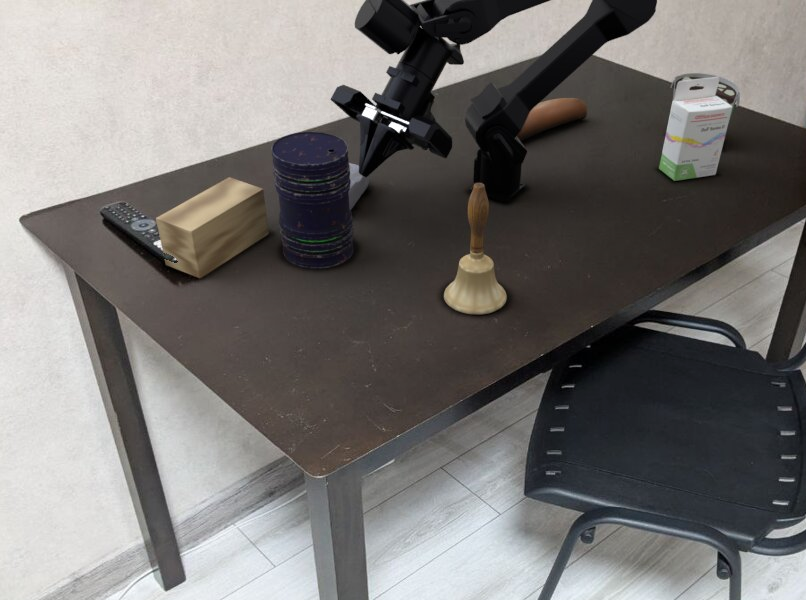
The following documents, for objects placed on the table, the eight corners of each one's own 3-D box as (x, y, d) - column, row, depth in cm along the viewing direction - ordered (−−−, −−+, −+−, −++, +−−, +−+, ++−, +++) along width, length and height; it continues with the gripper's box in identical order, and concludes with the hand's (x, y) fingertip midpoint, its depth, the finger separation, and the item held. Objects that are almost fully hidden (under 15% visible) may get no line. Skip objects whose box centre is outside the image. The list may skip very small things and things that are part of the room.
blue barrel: (271, 262, 123) (258, 158, 113) (296, 227, 131) (286, 127, 121) (342, 273, 122) (335, 169, 112) (363, 237, 130) (358, 137, 120)
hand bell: (433, 305, 118) (435, 192, 107) (458, 274, 124) (462, 164, 113) (493, 321, 116) (500, 208, 105) (515, 289, 122) (524, 178, 111)
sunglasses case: (552, 103, 168) (569, 78, 163) (574, 133, 168) (592, 108, 162) (482, 128, 158) (497, 102, 153) (504, 160, 158) (521, 135, 152)
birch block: (269, 234, 129) (263, 188, 124) (200, 278, 120) (191, 231, 115) (236, 222, 131) (229, 176, 126) (165, 265, 122) (155, 217, 117)
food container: (739, 140, 162) (753, 84, 155) (726, 152, 158) (740, 95, 151) (676, 121, 167) (686, 66, 160) (661, 132, 163) (672, 76, 156)
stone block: (288, 221, 135) (350, 219, 133) (279, 190, 132) (343, 188, 130) (316, 188, 144) (375, 185, 142) (308, 159, 141) (369, 155, 139)
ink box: (673, 182, 148) (692, 92, 138) (657, 169, 152) (674, 80, 142) (717, 175, 151) (738, 86, 141) (701, 162, 154) (720, 74, 145)
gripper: (492, 123, 129) (439, 221, 130) (395, 86, 137) (346, 177, 138) (457, 82, 119) (400, 188, 120) (356, 44, 127) (303, 144, 128)
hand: (362, 175), depth 127 cm, fingers closed
